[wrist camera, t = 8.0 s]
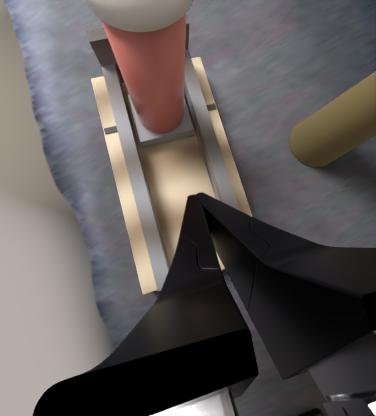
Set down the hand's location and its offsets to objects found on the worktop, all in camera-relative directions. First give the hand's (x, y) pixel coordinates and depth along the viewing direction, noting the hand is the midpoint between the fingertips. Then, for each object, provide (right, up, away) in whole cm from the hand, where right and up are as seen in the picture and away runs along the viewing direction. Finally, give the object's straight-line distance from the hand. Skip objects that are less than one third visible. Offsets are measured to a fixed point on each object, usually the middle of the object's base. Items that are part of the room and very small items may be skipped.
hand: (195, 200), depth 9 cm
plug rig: (-2, +4, +9) cm, 10 cm away
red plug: (-3, +9, +8) cm, 12 cm away
